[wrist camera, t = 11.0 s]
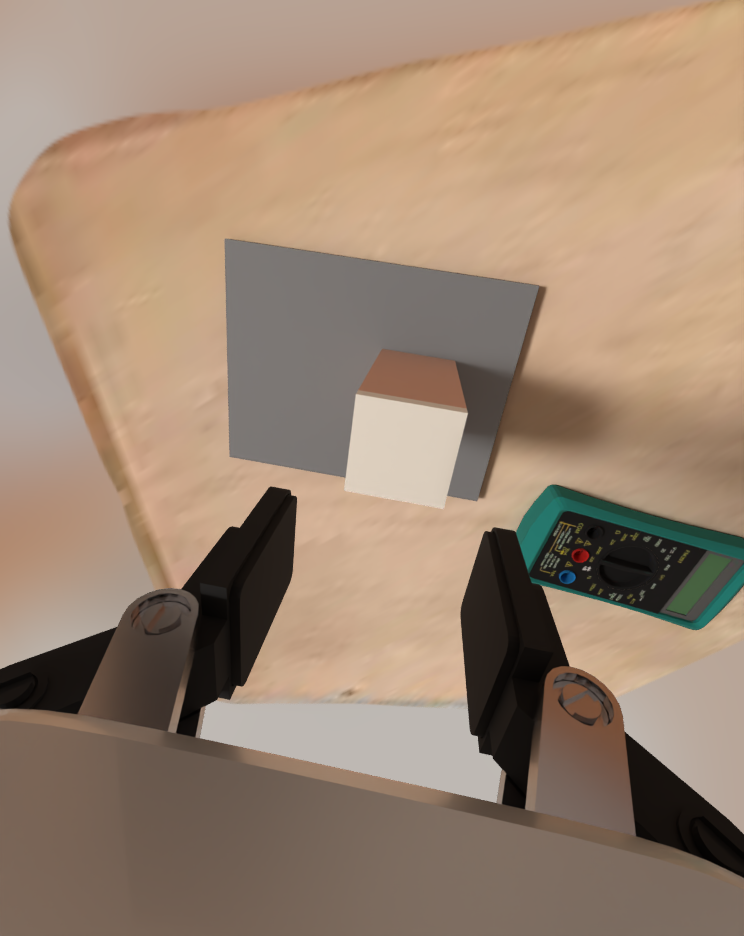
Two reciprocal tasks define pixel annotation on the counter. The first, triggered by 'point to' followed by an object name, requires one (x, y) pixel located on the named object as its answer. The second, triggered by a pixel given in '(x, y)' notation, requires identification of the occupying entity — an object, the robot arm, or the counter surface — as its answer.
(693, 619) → the digital multimeter
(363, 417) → the block
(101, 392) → the counter surface
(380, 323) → the mat
